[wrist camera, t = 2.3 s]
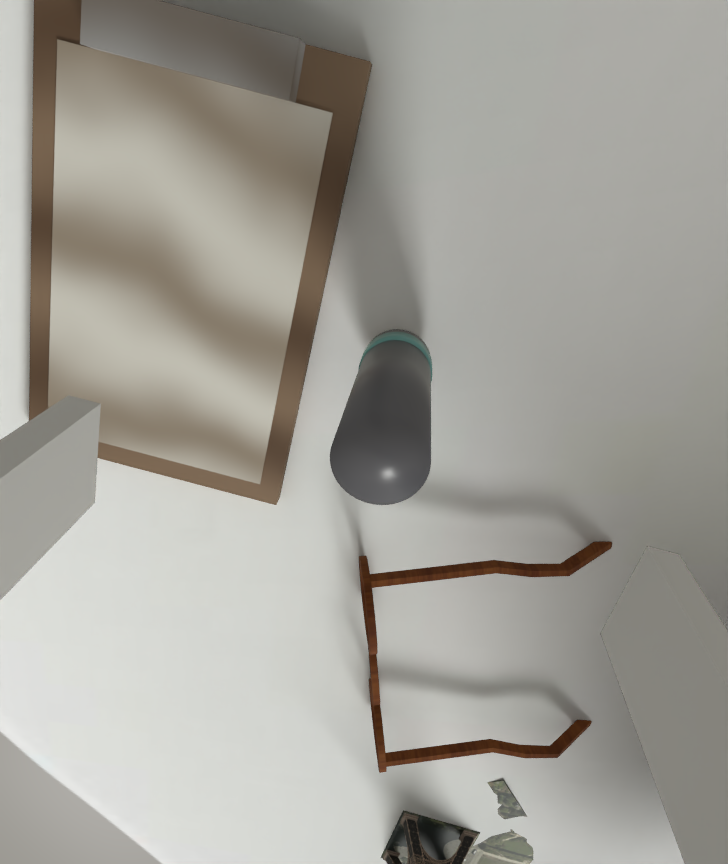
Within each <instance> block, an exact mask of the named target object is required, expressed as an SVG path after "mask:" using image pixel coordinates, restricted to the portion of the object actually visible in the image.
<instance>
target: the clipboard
mask: <svg viewBox="0 0 728 864" xmlns="http://www.w3.org/2000/svg"><path fill="white" fill-rule="evenodd" d="M371 67H372V64H371V62H370V61H366V60H362V59H359V58H355V57H351V56H347V55H344V54H340V53H336V52H333V51H329V50H325V49H321V48H318V47H314V46H310V45H306V44H305V43H304V42H303V41H302V40H301V39H300V38H297V37H293V36H290V35H286V34H282V33H279V32H275V31H271V30H267V29H264V28H260V27H256V26H252V25H249V24H245V23H241V22H238V21H234V20H230V19H226V18H223V17H219V16H215V15H211V14H208V13H204V12H200V11H197V10H193V9H189V8H185V7H182V6H178V5H174V4H170V3H167V2H163V1H159V0H34V55H33V139H32V224H31V309H30V393H29V421H30V420H32V419H33V418H35V417H36V416H38V415H39V414H41V413H42V412H44V411H45V410H47V409H48V408H50V407H51V406H53V405H54V404H56V403H57V402H59V401H60V400H62V399H63V398H65V397H67V396H68V395H70V396H73V397H77V398H81V399H85V400H89V401H93V402H96V403H100V404H101V408H100V425H99V441H98V458H100V459H104V460H108V461H111V462H115V463H119V464H123V465H127V466H130V467H134V468H138V469H142V470H146V471H149V472H153V473H157V474H161V475H164V476H168V477H172V478H176V479H180V480H183V481H187V482H191V483H195V484H199V485H202V486H206V487H210V488H214V489H217V490H221V491H225V492H229V493H233V494H236V495H240V496H244V497H248V498H251V499H255V500H259V501H263V502H267V503H270V504H274V505H276V504H277V502H278V500H279V497H280V493H281V488H282V484H283V479H284V474H285V470H286V465H287V460H288V456H289V451H290V446H291V442H292V437H293V432H294V428H295V423H296V418H297V414H298V409H299V404H300V399H301V395H302V390H303V385H304V381H305V376H306V371H307V367H308V362H309V357H310V353H311V348H312V343H313V339H314V334H315V329H316V325H317V320H318V315H319V311H320V306H321V301H322V296H323V292H324V287H325V282H326V278H327V273H328V268H329V264H330V259H331V254H332V250H333V245H334V240H335V236H336V231H337V226H338V222H339V217H340V212H341V208H342V203H343V198H344V194H345V189H346V184H347V179H348V175H349V170H350V165H351V161H352V156H353V151H354V147H355V142H356V137H357V133H358V128H359V123H360V119H361V114H362V109H363V105H364V100H365V95H366V91H367V86H368V81H369V77H370V72H371Z"/></svg>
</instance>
